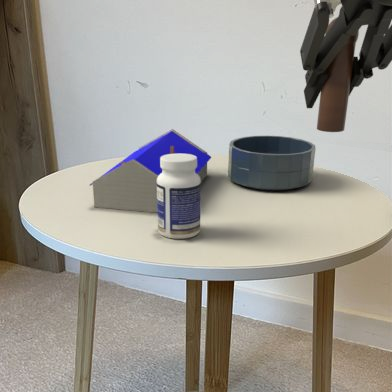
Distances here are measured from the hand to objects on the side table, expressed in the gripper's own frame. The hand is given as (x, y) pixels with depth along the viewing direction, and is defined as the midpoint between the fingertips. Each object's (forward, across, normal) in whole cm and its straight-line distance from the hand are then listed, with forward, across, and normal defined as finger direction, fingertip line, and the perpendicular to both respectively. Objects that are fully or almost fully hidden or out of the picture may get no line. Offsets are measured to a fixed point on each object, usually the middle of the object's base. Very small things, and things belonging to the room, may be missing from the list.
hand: (323, 99), depth 81 cm
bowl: (+23, -2, +1) cm, 23 cm away
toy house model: (+21, -22, -1) cm, 30 cm away
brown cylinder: (0, 0, -5) cm, 5 cm away
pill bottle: (+7, -21, -16) cm, 27 cm away
